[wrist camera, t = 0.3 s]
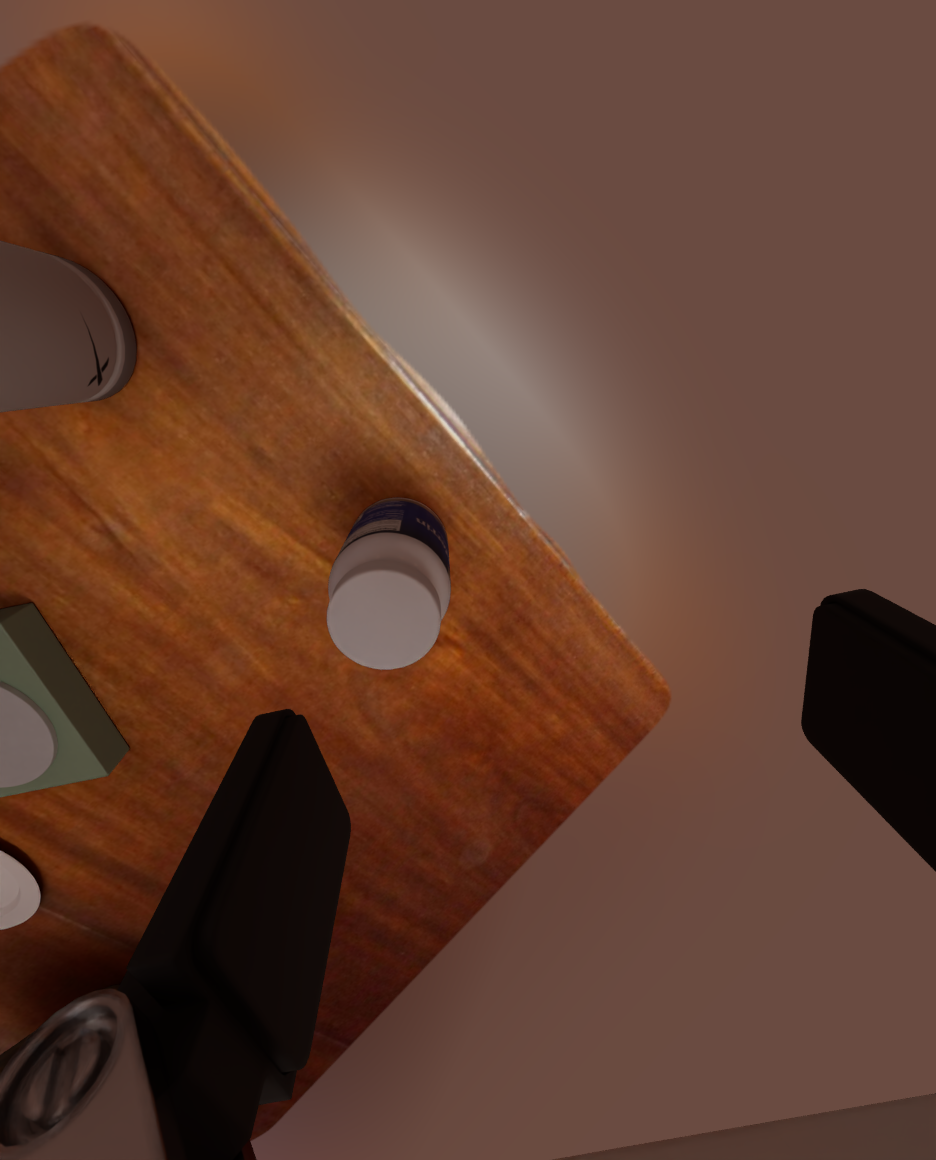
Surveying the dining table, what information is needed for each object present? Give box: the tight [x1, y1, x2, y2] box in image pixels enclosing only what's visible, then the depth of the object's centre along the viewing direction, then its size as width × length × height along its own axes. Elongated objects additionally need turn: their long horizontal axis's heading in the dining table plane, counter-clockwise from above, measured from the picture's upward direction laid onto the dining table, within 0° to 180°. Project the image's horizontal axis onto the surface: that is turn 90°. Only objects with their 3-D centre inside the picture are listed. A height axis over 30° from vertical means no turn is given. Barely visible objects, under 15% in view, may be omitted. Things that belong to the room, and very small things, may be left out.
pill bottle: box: [327, 498, 451, 669], centre depth 24 cm, size 6×6×10 cm
